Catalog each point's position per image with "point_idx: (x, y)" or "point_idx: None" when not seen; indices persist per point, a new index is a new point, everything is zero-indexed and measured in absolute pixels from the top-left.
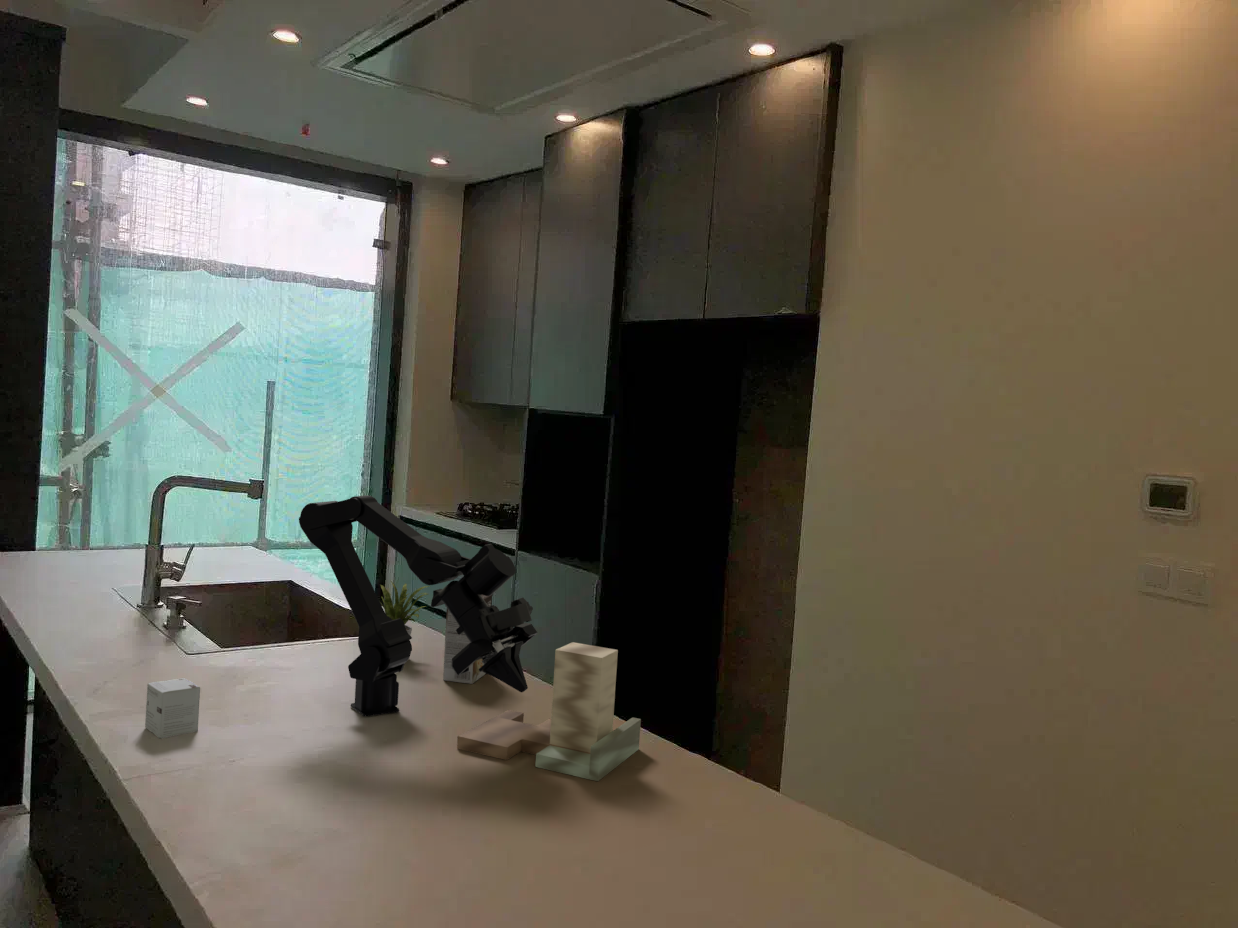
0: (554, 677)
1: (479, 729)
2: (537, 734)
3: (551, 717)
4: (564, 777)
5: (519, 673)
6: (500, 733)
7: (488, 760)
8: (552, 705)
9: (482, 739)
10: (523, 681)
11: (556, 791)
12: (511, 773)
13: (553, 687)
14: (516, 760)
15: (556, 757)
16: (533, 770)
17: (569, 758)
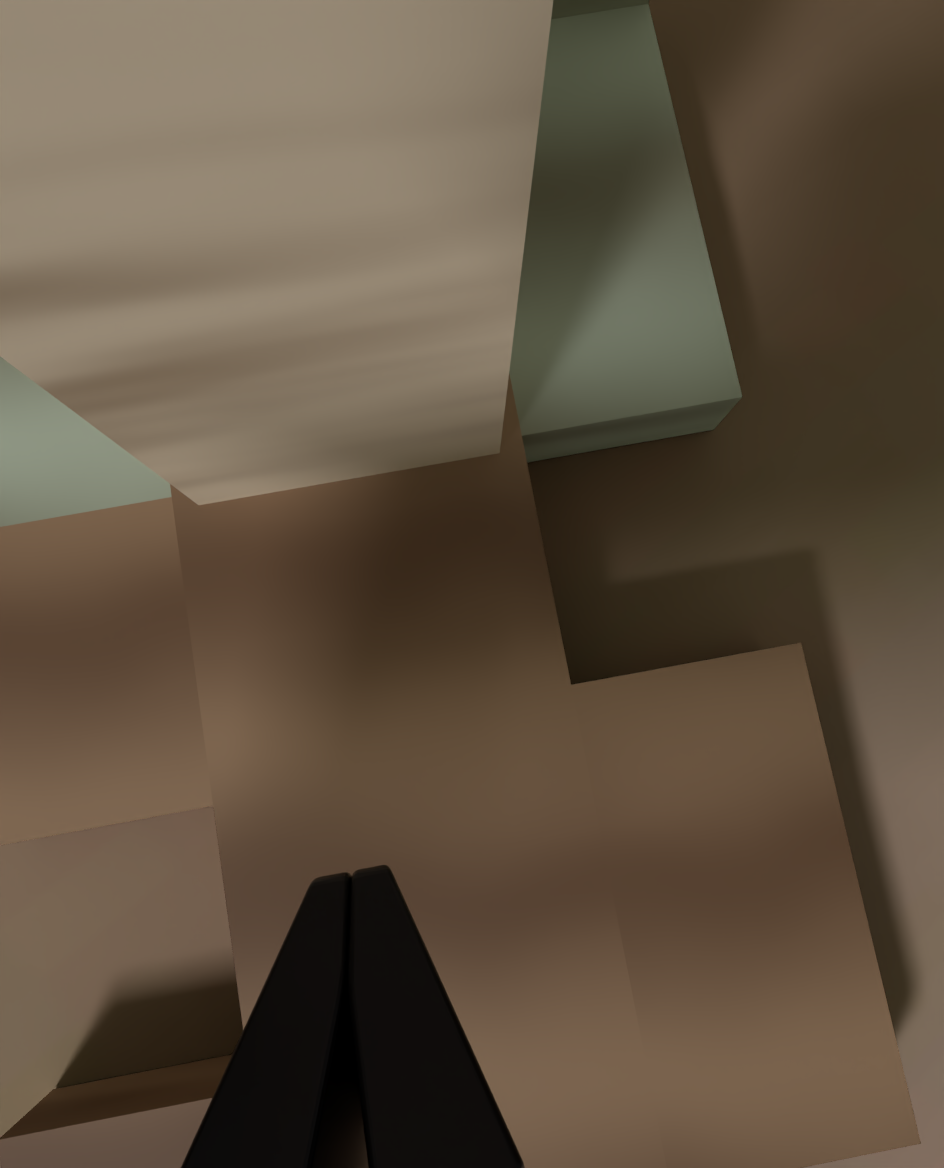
0: (545, 13)
1: (652, 1121)
2: (393, 659)
3: (508, 367)
4: (715, 192)
5: (321, 1137)
6: (598, 905)
7: (863, 740)
8: (513, 305)
9: (817, 919)
10: (342, 968)
11: (920, 103)
12: (916, 470)
13: (533, 158)
14: (717, 596)
15: (688, 250)
16: (770, 399)
17: (637, 173)
